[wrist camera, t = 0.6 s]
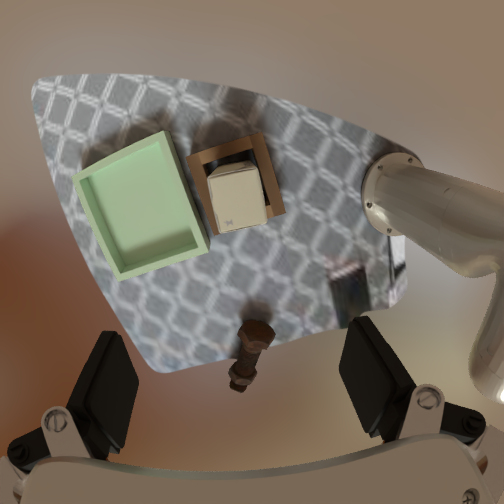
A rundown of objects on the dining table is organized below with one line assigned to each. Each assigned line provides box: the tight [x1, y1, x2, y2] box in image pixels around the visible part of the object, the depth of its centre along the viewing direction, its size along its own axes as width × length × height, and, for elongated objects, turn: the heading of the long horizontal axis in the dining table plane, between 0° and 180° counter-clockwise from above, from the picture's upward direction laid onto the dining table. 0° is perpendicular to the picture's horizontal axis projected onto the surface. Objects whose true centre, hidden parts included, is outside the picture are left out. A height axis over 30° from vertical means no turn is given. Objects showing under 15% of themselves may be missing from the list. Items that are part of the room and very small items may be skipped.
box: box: [207, 160, 267, 233], centre depth 28 cm, size 5×4×13 cm
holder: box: [186, 132, 286, 236], centre depth 32 cm, size 9×10×4 cm
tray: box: [71, 130, 210, 282], centre depth 33 cm, size 14×16×3 cm
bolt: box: [228, 320, 276, 393], centre depth 44 cm, size 6×5×15 cm
